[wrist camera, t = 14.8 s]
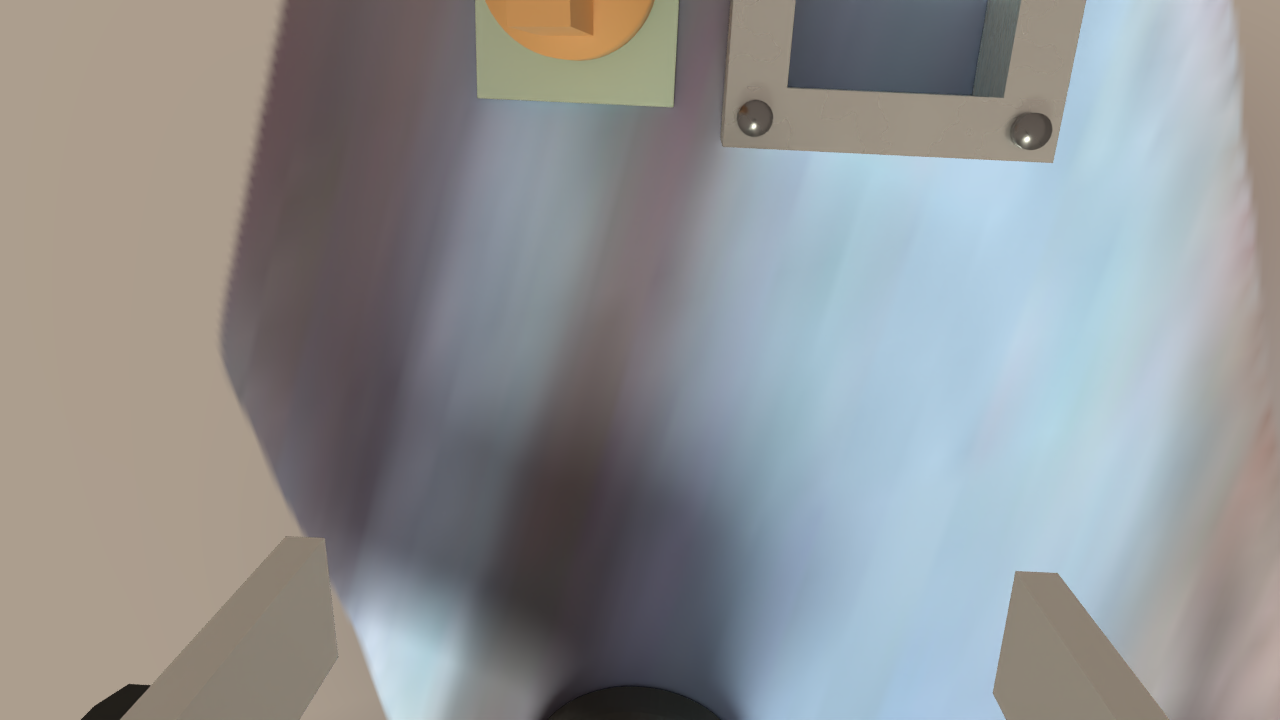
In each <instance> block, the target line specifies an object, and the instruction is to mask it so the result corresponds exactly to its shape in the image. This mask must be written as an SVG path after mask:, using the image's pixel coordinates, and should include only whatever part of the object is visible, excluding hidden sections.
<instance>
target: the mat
mask: <svg viewBox="0 0 1280 720" xmlns="http://www.w3.org/2000/svg"><path fill="white" fill-rule="evenodd" d="M678 12H679V0H655V1H654V5H653V7H652V10H651V12H650V14H649V16H648V18H647V20H646V21H645V23H644V24H643V26H642V28H641V29H640V30H639V31H638V32H637V34H636V35H635V36H634V37H633V38H632V39H631V40H630V41H629V42H628V43H626V44H625V45H624V46H622V47H621V48H619V49H618V50H616V51H614V52H612V53H610V54H608V55H606V56H603V57H600V58H596V59H592V60H583V61H574V60H564V59H557V58H552V57H547V56H544V55H541V54H538V53H536V52H533V51H531V50H529V49H528V48H526V47H524V46H522V45H521V44H520V43H518V42H517V41H515V40H514V39H513V38H512V37H511V36H510V35H509V34H507V33H506V32H505V31H504V29H503V28H502V27H501V26H500V25H499V24H498V22H497V21H496V19H495V18H494V16H493V15H492V13H491V12H490V10H489V8H488V6H487V4H486V2H485V0H475V17H476V61H477V98H486V99H507V100H529V101H550V102H572V103H593V104H615V105H636V106H658V107H673V106H674V87H675V68H676V49H677V31H678Z"/></svg>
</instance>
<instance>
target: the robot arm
mask: <svg viewBox="0 0 1280 720" xmlns="http://www.w3.org/2000/svg"><path fill="white" fill-rule="evenodd" d="M337 658H338V651H337V643H336V633H335V624H334V615H333V607H332V597H331V589H330V580H329V571H328V562H327V554H326V545H325V538H312V537H291V536H286V537H285V538H284V539H283V540H282V541H281V542H280V544H279V545H278V546H277V547H276V548H275V549H274V550H273V551H272V552H271V554H270V555H269V556H268V557H267V558H266V559H265V560H264V561H263V562H262V563H261V565H260V566H259V567H258V568H257V569H256V570H255V571H254V572H253V573H252V574H251V576H250V577H249V578H248V579H247V580H246V581H245V582H244V583H243V584H242V586H241V587H240V588H239V589H238V590H237V591H236V592H235V593H234V594H233V596H232V597H231V598H230V599H229V600H228V601H227V602H226V603H225V604H224V605H223V606H222V608H221V609H220V610H219V611H218V612H217V613H216V614H215V615H214V617H213V618H212V619H211V620H210V621H209V622H208V623H207V624H206V625H205V627H204V628H203V629H202V630H201V631H200V632H199V633H198V634H197V635H196V636H195V637H194V639H193V640H192V641H191V642H190V643H189V644H188V645H187V646H186V647H185V649H184V650H183V651H182V652H181V653H180V654H179V655H178V656H177V657H176V658H175V659H174V661H173V662H172V663H171V664H170V665H169V666H168V667H167V668H166V669H165V671H164V672H163V673H162V674H161V675H160V676H159V677H158V678H157V680H156V681H155V682H154V683H153V684H152V685H135V684H128V685H127V686H125V687H123V688H122V689H120V690H119V691H117V692H116V693H114V694H112V695H111V696H109V697H108V698H106V699H105V700H103V701H102V702H100V703H98V704H97V705H95V706H94V707H93V708H92V709H91V710H90V711H89V712H88V713H87V714H86V715H85V716H84V717H83V718H82V719H81V720H300V718H301V716H302V715H303V713H304V711H305V710H306V708H307V707H308V705H309V703H310V702H311V700H312V699H313V697H314V695H315V694H316V692H317V691H318V689H319V687H320V686H321V684H322V683H323V681H324V679H325V678H326V676H327V674H328V673H329V671H330V670H331V668H332V666H333V665H334V663H335V662H336V660H337ZM993 695H994V697H995V698H996V700H997V702H998V704H999V706H1000V708H1001V710H1002V712H1003V714H1004V716H1005V718H1006V720H1169V719H1168V717H1167V716H1166V715H1165V713H1164V712H1163V711H1162V709H1161V708H1160V707H1159V705H1158V704H1157V703H1156V701H1155V700H1154V699H1153V698H1152V696H1151V695H1150V694H1149V692H1148V691H1147V690H1146V688H1145V687H1144V686H1143V684H1142V683H1141V682H1140V681H1139V679H1138V678H1137V677H1136V675H1135V674H1134V673H1133V671H1132V670H1131V669H1130V667H1129V666H1128V665H1127V663H1126V662H1125V661H1124V660H1123V658H1122V657H1121V656H1120V654H1119V653H1118V652H1117V650H1116V649H1115V648H1114V646H1113V645H1112V644H1111V642H1110V641H1109V640H1108V639H1107V637H1106V636H1105V635H1104V633H1103V632H1102V631H1101V629H1100V628H1099V627H1098V625H1097V624H1096V623H1095V622H1094V620H1093V619H1092V618H1091V616H1090V615H1089V614H1088V612H1087V611H1086V610H1085V608H1084V607H1083V606H1082V604H1081V603H1080V602H1079V601H1078V599H1077V598H1076V597H1075V595H1074V594H1073V593H1072V591H1071V590H1070V589H1069V587H1068V586H1067V585H1066V583H1065V582H1064V581H1063V580H1062V578H1061V577H1060V576H1059V574H1058V573H1044V572H1023V571H1015V577H1014V582H1013V587H1012V593H1011V598H1010V603H1009V609H1008V614H1007V619H1006V625H1005V630H1004V635H1003V641H1002V646H1001V652H1000V657H999V662H998V668H997V673H996V678H995V684H994V689H993ZM548 720H720V719H719V718H718V717H717V716H716V715H715V714H713V713H712V712H711V711H709V710H708V709H706V708H705V707H703V706H701V705H700V704H698V703H696V702H694V701H692V700H690V699H688V698H686V697H683V696H681V695H678V694H675V693H672V692H668V691H664V690H660V689H654V688H647V687H615V688H608V689H603V690H599V691H595V692H592V693H589V694H586V695H583V696H581V697H579V698H577V699H575V700H573V701H571V702H569V703H567V704H566V705H564V706H563V707H561V708H560V709H559V710H557V711H556V712H555V713H554V714H553V715H552V716H551V717H550V718H549V719H548Z"/></svg>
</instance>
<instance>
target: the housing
mask: <svg viewBox="0 0 1280 720" xmlns="http://www.w3.org/2000/svg"><path fill="white" fill-rule="evenodd" d="M795 1H796V0H730V11H729V25H728V39H727V53H726V67H725V81H724V95H723V108H722V122H721V136H720V140H721V143H722V146H723V147H738V148H758V149H779V150H799V151H820V152H840V153H861V154H881V155H902V156H922V157H943V158H963V159H984V160H1004V161H1025V162H1045V163H1053V160H1054V155H1055V150H1056V145H1057V140H1058V135H1059V131H1060V126H1061V121H1062V116H1063V111H1064V106H1065V101H1066V96H1067V91H1068V87H1069V82H1070V77H1071V72H1072V67H1073V62H1074V57H1075V52H1076V47H1077V43H1078V38H1079V33H1080V28H1081V23H1082V18H1083V13H1084V8H1085V3H1086V0H988V3H987V9H986V15H985V21H984V27H983V33H982V39H981V45H980V51H979V57H978V62H977V68H976V74H975V80H974V86H973V92H972V95H953V94H931V93H909V92H886V91H864V90H842V89H820V88H797V87H787V84H788V74H789V64H790V53H791V43H792V33H793V22H794V12H795Z"/></svg>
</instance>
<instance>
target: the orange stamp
mask: <svg viewBox="0 0 1280 720" xmlns="http://www.w3.org/2000/svg"><path fill="white" fill-rule="evenodd" d="M654 1H655V0H485V2H486V4H487V6H488V8H489V10H490V12H491V13H492V15H493V16H494V18H495V19H496V21H497V22H498V24H499V25H500V26H501V27H502V28H503V29H504V31H505V32H506V33H507V34H509V35H510V36H511V37H512V38H513V39H514V40H515V41H517V42H518V43H520V44H521V45H522V46H524V47H526V48H528V49H529V50H531V51H533V52H536V53H538V54H541V55H544V56H547V57H552V58H557V59H564V60H574V61H583V60H592V59H596V58H600V57H603V56H606V55H608V54H610V53H612V52H614V51H616V50H618V49H619V48H621V47H622V46H624V45H625V44H626V43H628V42H629V41H630V40H631V39H632V38H633V37H634V36H635V35H636V34H637V32H638V31H639V30H640V29H641V28H642V26H643V24H644V23H645V21H646V20H647V18H648V16H649V14H650V12H651V10H652V7H653V5H654Z"/></svg>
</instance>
